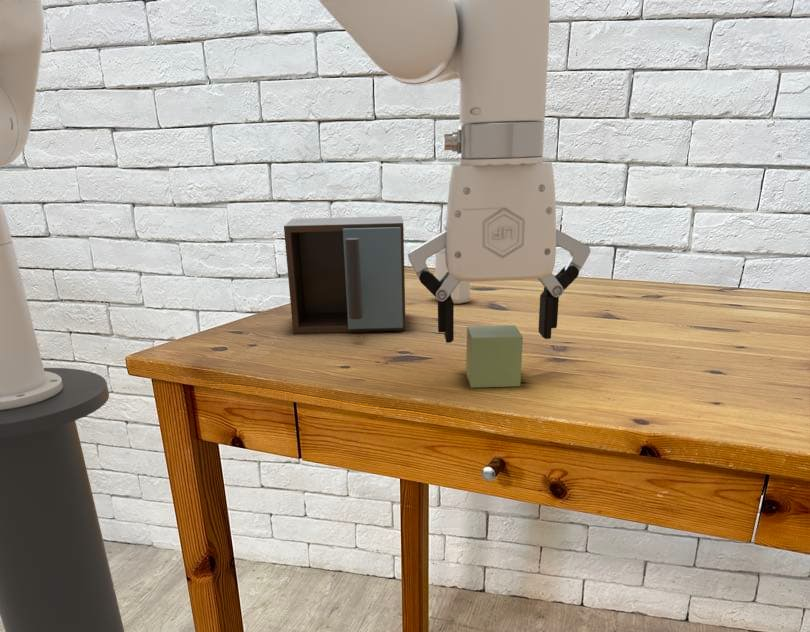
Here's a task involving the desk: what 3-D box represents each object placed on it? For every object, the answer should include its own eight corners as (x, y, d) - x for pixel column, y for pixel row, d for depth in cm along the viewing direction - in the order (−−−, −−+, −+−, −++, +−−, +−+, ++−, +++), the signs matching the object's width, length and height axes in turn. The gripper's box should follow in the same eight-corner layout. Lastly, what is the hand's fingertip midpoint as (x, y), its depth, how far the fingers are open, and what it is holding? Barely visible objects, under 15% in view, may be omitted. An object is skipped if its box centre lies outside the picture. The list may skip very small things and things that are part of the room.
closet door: (403, 338, 93) (401, 232, 88) (346, 339, 93) (340, 234, 88) (402, 326, 99) (400, 226, 93) (348, 328, 99) (343, 228, 93)
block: (520, 386, 77) (523, 336, 74) (470, 387, 77) (471, 337, 74) (513, 372, 81) (515, 325, 79) (466, 374, 81) (466, 326, 79)
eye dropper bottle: (443, 305, 113) (444, 218, 108) (433, 298, 118) (433, 214, 113) (471, 303, 114) (473, 216, 109) (460, 296, 119) (461, 213, 113)
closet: (405, 330, 100) (403, 223, 93) (293, 333, 99) (283, 225, 93) (404, 316, 108) (402, 215, 101) (300, 318, 107) (291, 218, 101)
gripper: (406, 150, 66) (411, 350, 74) (607, 143, 66) (591, 343, 74) (404, 149, 72) (409, 332, 80) (587, 142, 72) (574, 326, 80)
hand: (496, 337), depth 77 cm, fingers open, 9 cm apart
